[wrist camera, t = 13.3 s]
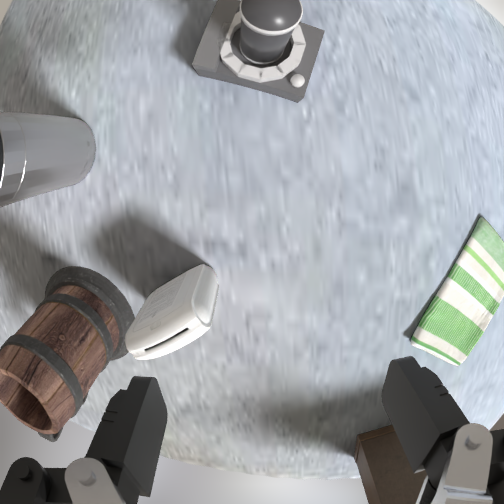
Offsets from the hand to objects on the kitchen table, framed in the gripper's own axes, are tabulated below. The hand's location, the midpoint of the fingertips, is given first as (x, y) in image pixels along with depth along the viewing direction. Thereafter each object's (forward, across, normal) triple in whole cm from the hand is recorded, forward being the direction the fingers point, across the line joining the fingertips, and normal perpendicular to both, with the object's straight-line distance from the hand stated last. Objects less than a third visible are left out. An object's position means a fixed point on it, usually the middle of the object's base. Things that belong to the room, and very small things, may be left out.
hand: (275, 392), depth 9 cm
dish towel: (+29, -37, +16) cm, 49 cm away
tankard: (+28, +27, +17) cm, 43 cm away
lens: (+24, -2, -20) cm, 31 cm away
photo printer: (+28, +10, +9) cm, 31 cm away
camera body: (+28, -2, -20) cm, 34 cm away
